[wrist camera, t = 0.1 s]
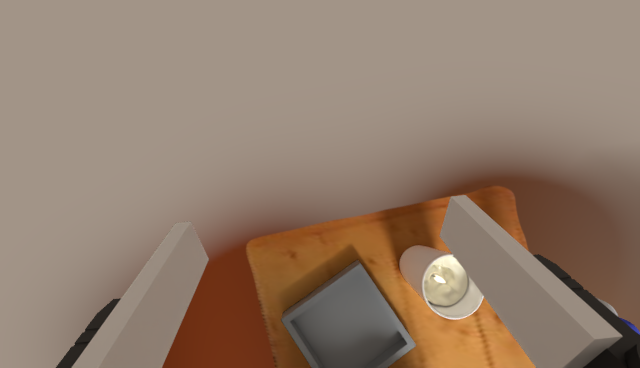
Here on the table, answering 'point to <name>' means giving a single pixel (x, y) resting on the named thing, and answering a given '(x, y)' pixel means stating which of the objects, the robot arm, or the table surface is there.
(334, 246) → the table surface
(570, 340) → the robot arm
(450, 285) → the candle holder
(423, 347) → the table surface
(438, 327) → the table surface
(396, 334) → the tray
